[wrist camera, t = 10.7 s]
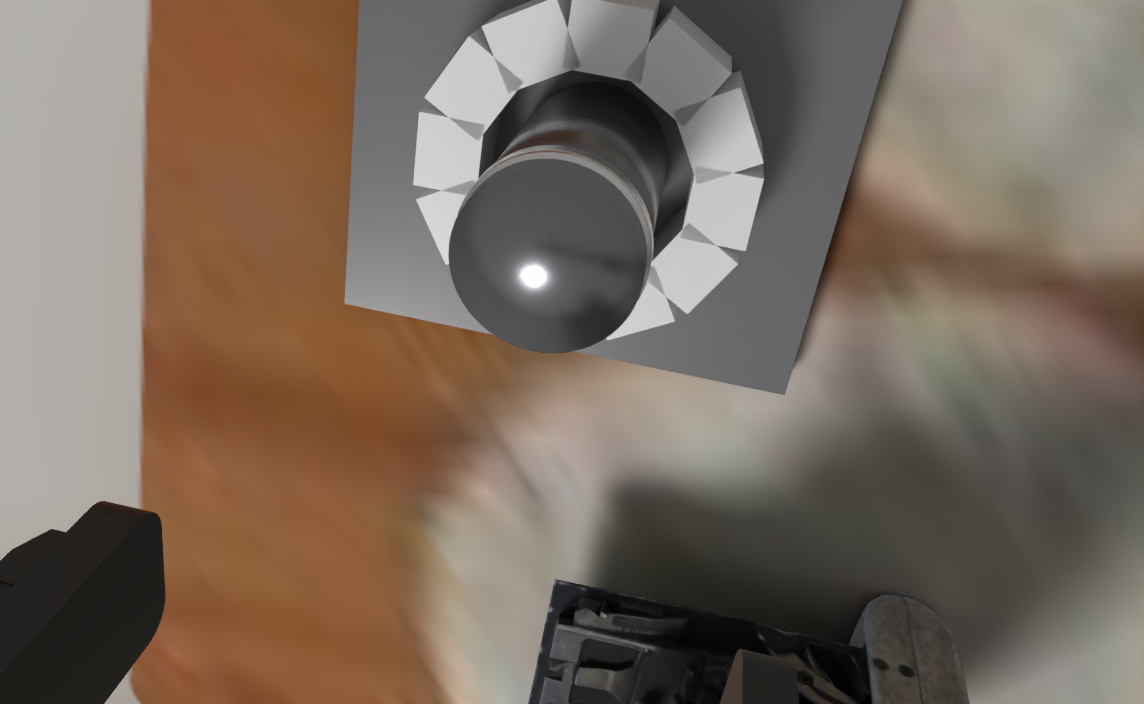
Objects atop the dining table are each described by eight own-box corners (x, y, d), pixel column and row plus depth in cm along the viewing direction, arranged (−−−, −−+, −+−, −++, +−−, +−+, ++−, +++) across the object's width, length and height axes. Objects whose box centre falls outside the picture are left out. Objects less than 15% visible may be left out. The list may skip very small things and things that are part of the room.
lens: (686, 96, 30) (667, 188, 23) (654, 244, 33) (627, 375, 25) (528, 64, 31) (455, 144, 23) (507, 214, 33) (435, 333, 25)
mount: (903, -29, 29) (924, -13, 26) (783, 378, 36) (787, 430, 33) (378, -124, 30) (336, -120, 27) (355, 290, 37) (319, 332, 33)
